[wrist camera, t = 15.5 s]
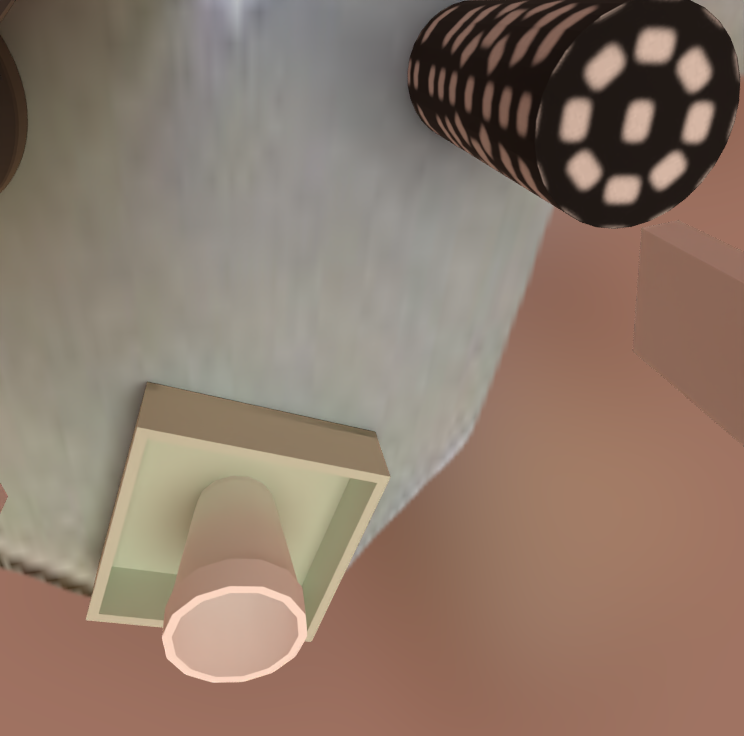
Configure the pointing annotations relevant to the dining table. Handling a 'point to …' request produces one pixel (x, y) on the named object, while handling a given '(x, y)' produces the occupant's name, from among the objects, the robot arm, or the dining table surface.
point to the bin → (220, 460)
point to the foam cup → (234, 588)
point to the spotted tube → (582, 98)
